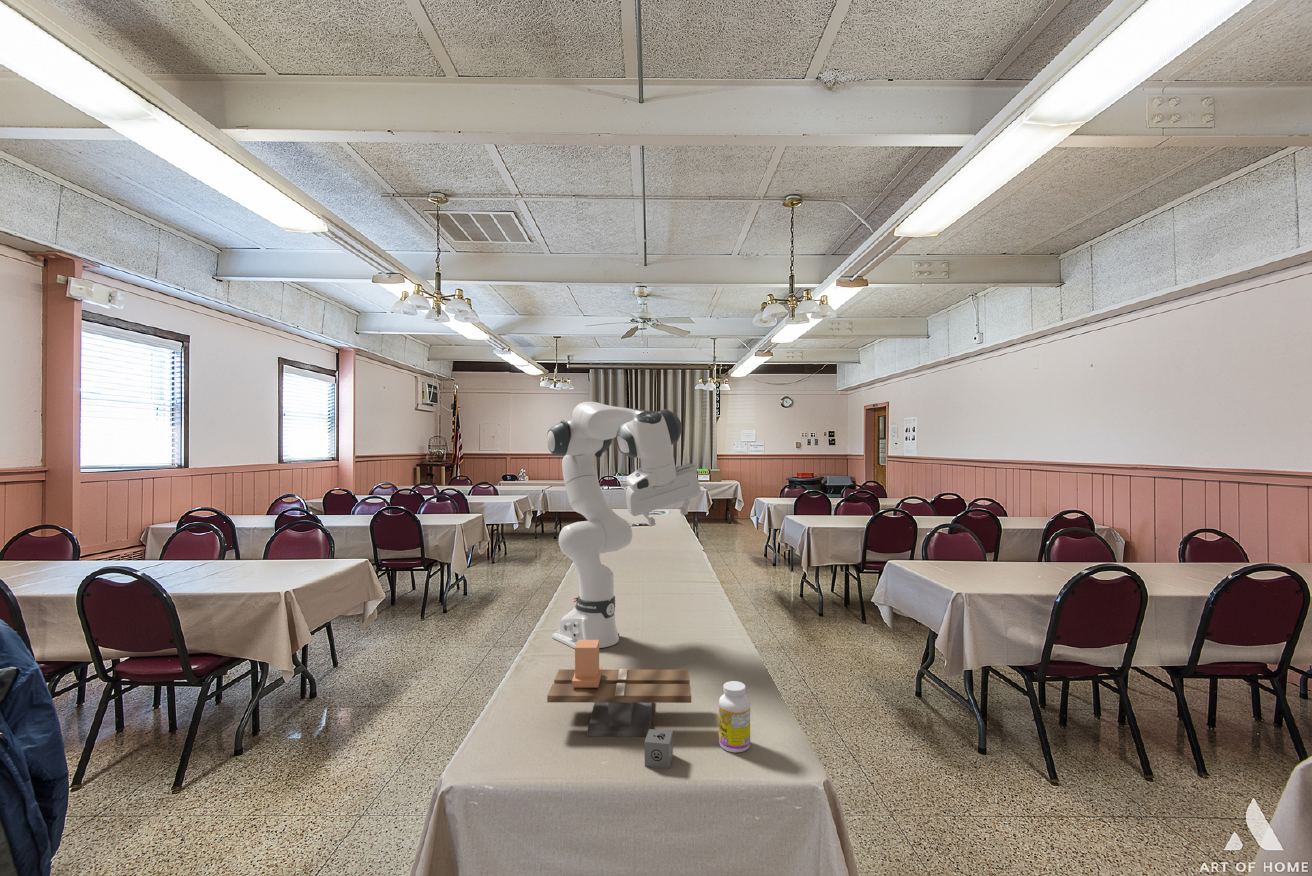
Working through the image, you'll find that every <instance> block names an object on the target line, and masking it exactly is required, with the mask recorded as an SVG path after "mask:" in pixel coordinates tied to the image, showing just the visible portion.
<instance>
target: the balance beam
mask: <svg viewBox="0 0 1312 876" xmlns="http://www.w3.org/2000/svg"><path fill="white" fill-rule="evenodd" d="M574 674H575V669H572V668H571V669H566V668H565V669H561V668H560V669H558V671H557V674H556V675H555V678H554V679H553V683H552V684H551V686H550V689H549V691H548V692H547V693H548V694H547V697H546V700H547V702H546V703H587V704H588V703H593V706H592V707H593V708H592V711H591V714H590V715H591V716H590V719H589V723H588V725H587V726H588V727H587V732H586V733H587V735H586V736H587V737H645V738H646V736H647V733H648V731H649V729H652V717H653V713H652V712H653V703H655V704H657V703H659V704H661V703H662V704H665V703H666V704H669V703H670V704H671V703H672V704H673V703H676V704H677V703H679V704H681V703H682V704H683V703H684V704H690V703H692V691H691V684H690V682H691V679H690V671H689V669H628V668H619V669H602V675H601V679H600V683H599V687H572V679H573V677H574Z"/></svg>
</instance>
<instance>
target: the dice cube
mask: <svg viewBox="0 0 1312 876" xmlns="http://www.w3.org/2000/svg"><path fill="white" fill-rule="evenodd" d="M673 732H674V731H673V730H664V729H654V728H653V729H652V728H651V729H649V731H648V733H647V736H646V737H645V739H644V746H643V747H644V767H648V768H657V769H667V770H669V769H671V768H670V767H671V764H672V761H673V755H674V741H673V740H674V733H673Z"/></svg>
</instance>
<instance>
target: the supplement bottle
mask: <svg viewBox="0 0 1312 876" xmlns="http://www.w3.org/2000/svg"><path fill="white" fill-rule="evenodd" d="M746 692H747V691H746V684H745V683H743V682H741V681H737V680H731V681H726V682H725V683H723V694H721V696H720V697H719V698H718V699H719V700H718V743H719V746H720V747H721V748H722V749H723V750H725V751H727V752H729V753H735V754H737V753H742V752H743V753H744V752H745V751H747V750H748V749H749V748H750V746H751V701H750V699H749V697H748V696H747V695H746Z"/></svg>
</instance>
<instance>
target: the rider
mask: <svg viewBox="0 0 1312 876" xmlns="http://www.w3.org/2000/svg"><path fill="white" fill-rule="evenodd" d="M574 670H575V674H574V677H573V679H572V687H599V683H600V679H601V675H602V670H603V666H600V648H599V640H578V642H577V644H576V646H575V648H574Z"/></svg>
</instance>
